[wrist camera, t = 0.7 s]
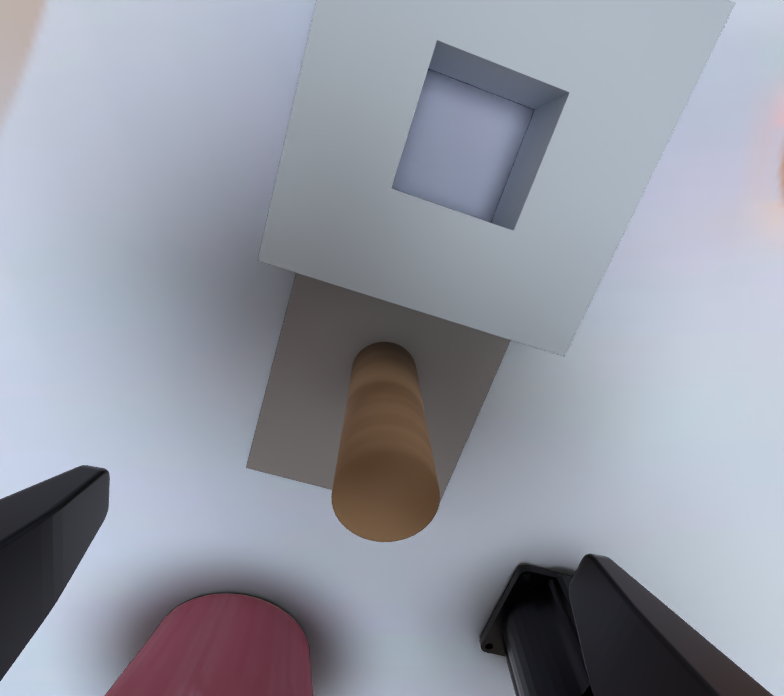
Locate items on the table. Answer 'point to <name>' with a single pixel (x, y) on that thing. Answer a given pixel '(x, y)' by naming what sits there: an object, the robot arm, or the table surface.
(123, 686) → the plant pot
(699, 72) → the socket block
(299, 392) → the mat
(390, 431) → the peg
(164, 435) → the table surface
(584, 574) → the robot arm
